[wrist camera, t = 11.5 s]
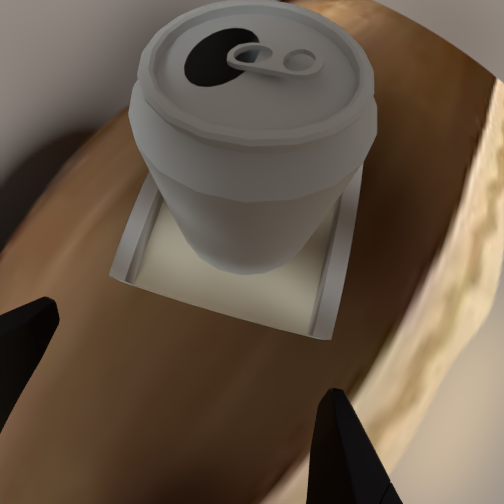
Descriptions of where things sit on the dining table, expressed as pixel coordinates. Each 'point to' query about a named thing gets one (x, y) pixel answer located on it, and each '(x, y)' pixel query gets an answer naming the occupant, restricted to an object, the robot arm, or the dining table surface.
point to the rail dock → (242, 286)
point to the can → (252, 126)
